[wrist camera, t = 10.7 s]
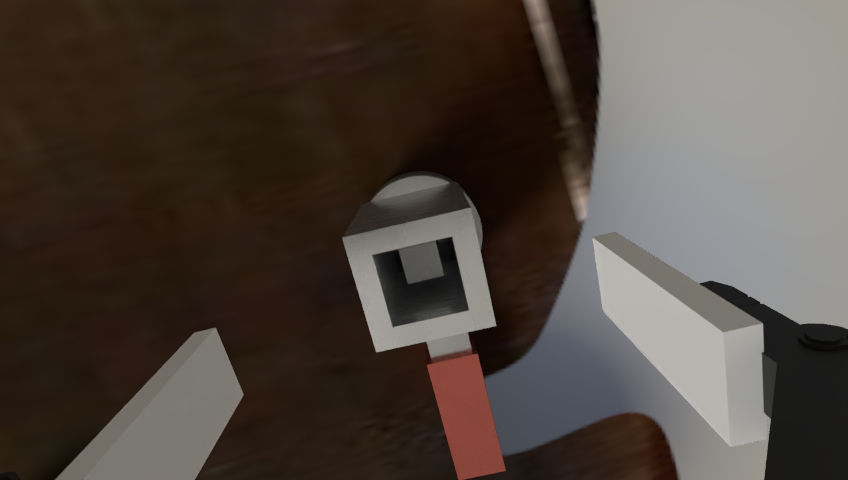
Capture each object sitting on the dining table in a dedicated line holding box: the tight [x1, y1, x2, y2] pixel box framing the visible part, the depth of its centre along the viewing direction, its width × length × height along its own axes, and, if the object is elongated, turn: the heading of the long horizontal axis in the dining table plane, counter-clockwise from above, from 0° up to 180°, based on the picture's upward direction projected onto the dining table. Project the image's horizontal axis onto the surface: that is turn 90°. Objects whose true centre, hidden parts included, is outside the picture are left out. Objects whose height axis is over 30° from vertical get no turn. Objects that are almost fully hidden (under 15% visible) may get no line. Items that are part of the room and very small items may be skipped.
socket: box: [342, 182, 496, 352], centre depth 23 cm, size 5×5×7 cm
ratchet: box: [370, 171, 506, 480], centre depth 27 cm, size 20×7×7 cm, turn 14°
